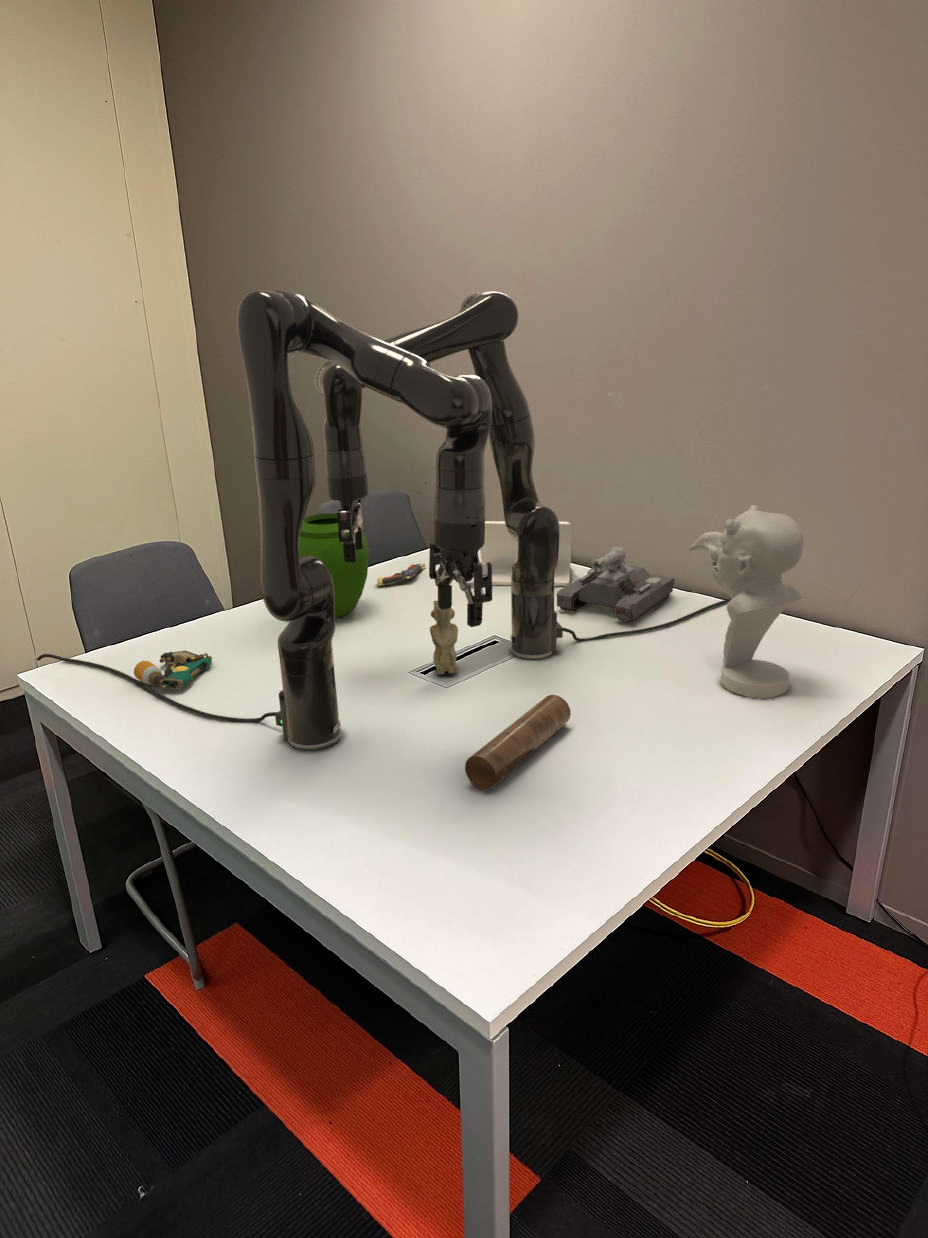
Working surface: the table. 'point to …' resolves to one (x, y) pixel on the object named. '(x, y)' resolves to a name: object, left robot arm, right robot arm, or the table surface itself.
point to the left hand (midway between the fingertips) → (459, 616)
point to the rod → (517, 742)
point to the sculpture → (444, 639)
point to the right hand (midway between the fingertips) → (354, 555)
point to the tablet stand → (505, 553)
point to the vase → (335, 560)
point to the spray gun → (172, 669)
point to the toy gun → (401, 575)
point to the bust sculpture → (753, 593)
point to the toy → (616, 588)
